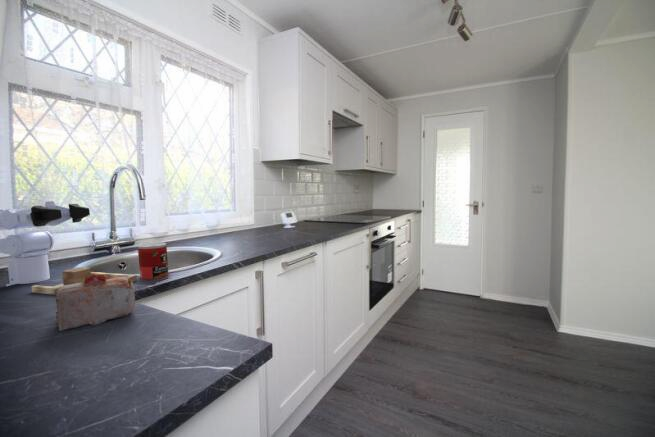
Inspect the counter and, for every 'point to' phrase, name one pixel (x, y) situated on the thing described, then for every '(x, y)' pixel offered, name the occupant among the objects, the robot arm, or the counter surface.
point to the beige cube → (75, 275)
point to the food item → (94, 301)
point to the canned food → (153, 260)
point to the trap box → (108, 275)
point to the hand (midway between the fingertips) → (74, 212)
